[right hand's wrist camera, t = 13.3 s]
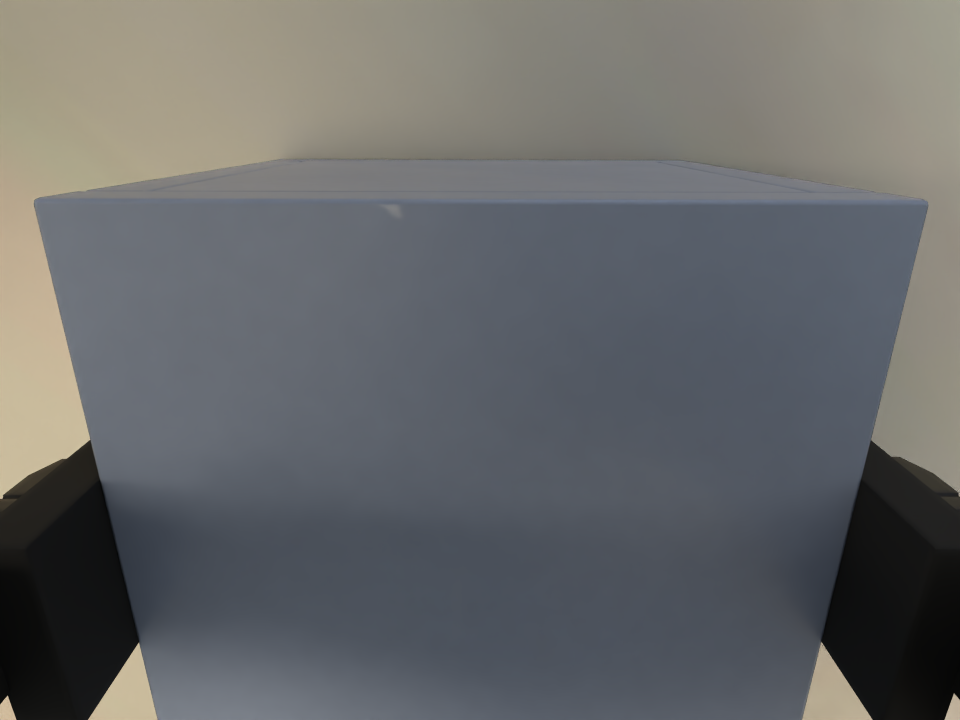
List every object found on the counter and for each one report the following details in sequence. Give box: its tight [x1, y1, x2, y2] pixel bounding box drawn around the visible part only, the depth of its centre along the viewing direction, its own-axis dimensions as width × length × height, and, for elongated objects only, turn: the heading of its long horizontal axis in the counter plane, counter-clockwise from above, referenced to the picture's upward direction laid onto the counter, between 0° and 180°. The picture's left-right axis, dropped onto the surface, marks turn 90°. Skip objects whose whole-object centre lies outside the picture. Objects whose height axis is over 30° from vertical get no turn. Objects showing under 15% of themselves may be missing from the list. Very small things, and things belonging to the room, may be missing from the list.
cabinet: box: [34, 159, 928, 720], centre depth 15 cm, size 20×10×9 cm, turn 0°
